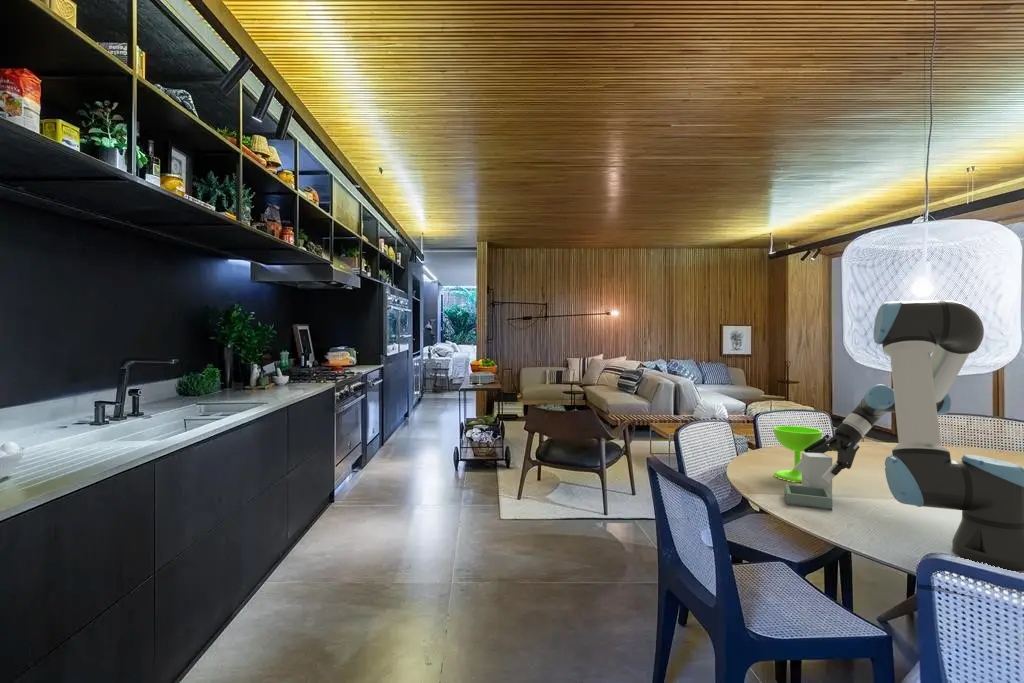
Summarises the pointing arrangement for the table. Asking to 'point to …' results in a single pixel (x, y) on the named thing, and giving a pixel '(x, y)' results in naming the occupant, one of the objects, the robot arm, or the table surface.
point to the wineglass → (795, 446)
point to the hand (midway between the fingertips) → (810, 475)
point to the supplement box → (816, 470)
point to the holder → (808, 497)
